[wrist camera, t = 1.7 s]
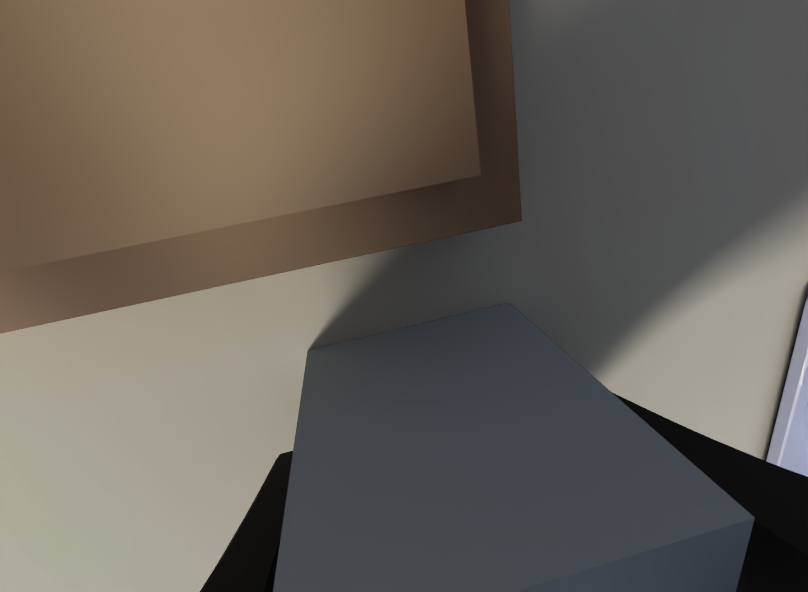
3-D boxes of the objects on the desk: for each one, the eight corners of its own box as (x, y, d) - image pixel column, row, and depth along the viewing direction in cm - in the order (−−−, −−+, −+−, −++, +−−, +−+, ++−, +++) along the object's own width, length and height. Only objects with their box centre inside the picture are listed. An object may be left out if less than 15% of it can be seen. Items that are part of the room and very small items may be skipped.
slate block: (508, 302, 9) (753, 517, 4) (519, 454, 11) (696, 745, 6) (307, 349, 9) (260, 668, 3) (354, 499, 11) (373, 862, 5)
